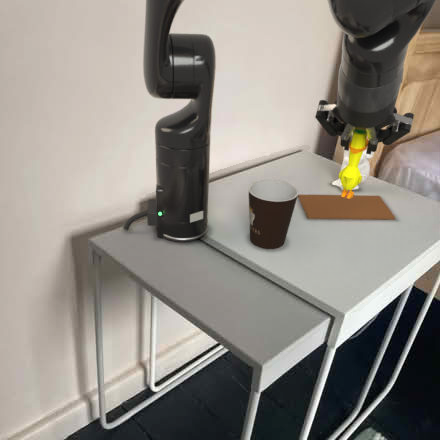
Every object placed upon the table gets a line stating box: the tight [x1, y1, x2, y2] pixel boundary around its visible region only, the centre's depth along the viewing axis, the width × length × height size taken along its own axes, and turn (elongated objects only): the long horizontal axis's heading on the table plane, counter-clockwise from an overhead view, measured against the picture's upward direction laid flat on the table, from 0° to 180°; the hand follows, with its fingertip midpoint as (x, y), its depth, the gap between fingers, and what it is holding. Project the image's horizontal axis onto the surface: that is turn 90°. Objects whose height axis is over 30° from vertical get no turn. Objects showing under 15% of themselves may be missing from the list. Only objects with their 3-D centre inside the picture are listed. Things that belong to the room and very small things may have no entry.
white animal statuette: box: [331, 132, 375, 192], centre depth 109 cm, size 8×7×12 cm
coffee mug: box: [248, 179, 299, 250], centre depth 90 cm, size 12×9×10 cm
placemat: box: [297, 194, 396, 221], centre depth 104 cm, size 18×10×1 cm, turn 94°
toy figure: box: [338, 130, 369, 199], centre depth 78 cm, size 7×4×12 cm, turn 152°
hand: (358, 146), depth 78 cm, fingers closed on toy figure, 3 cm apart
